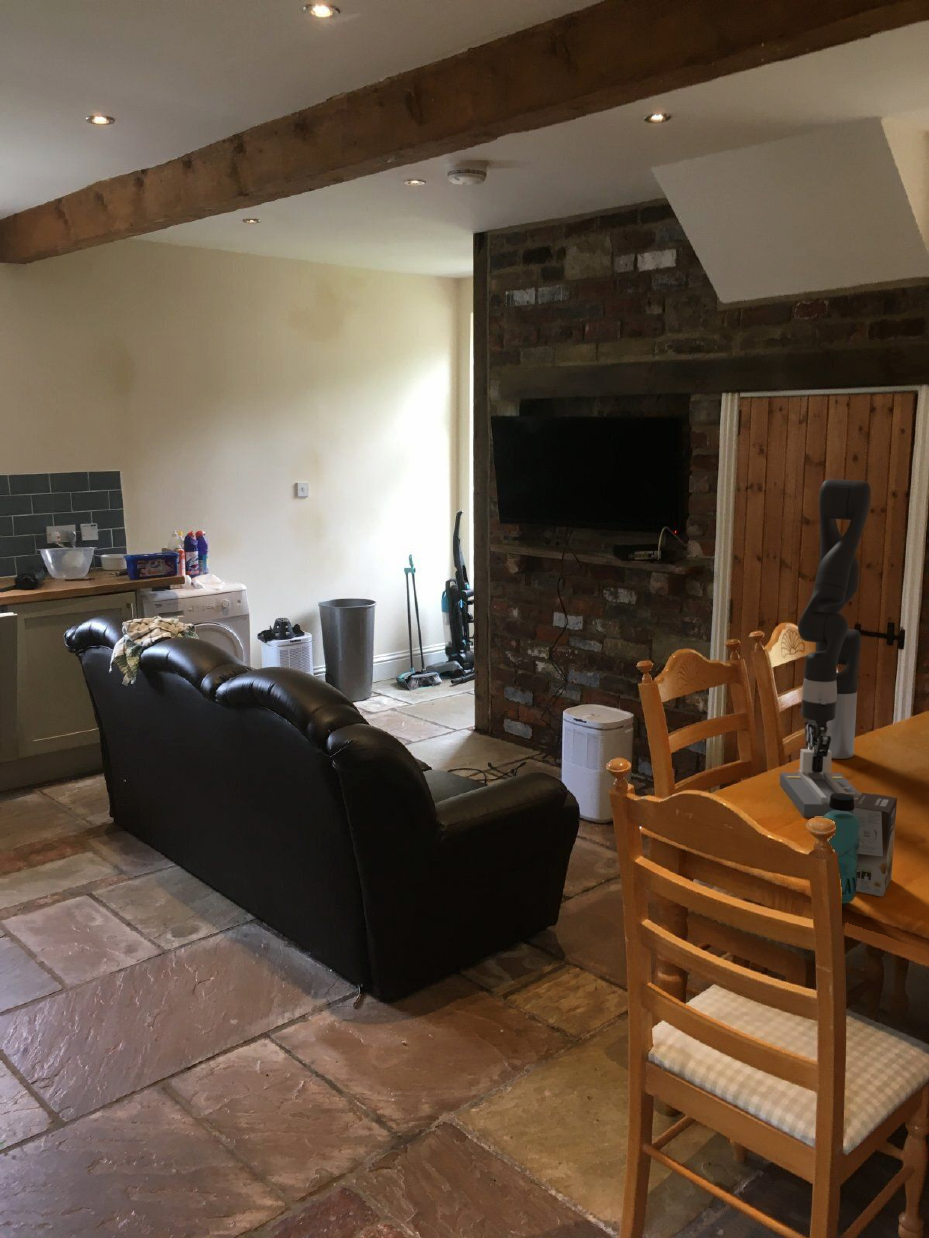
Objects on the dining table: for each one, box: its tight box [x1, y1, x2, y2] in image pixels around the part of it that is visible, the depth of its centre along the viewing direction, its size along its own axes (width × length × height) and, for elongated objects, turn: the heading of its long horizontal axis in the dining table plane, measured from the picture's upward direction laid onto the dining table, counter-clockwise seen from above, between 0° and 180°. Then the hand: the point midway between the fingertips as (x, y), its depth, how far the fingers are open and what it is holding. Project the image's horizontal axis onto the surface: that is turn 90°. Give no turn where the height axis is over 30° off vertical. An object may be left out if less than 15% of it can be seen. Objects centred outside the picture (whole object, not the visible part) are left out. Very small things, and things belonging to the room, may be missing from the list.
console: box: [779, 768, 862, 818], centre depth 226 cm, size 21×14×4 cm, turn 176°
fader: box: [799, 748, 832, 780], centre depth 233 cm, size 3×6×6 cm, turn 86°
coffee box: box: [853, 792, 898, 897], centre depth 182 cm, size 9×6×16 cm
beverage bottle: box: [821, 793, 860, 904], centre depth 175 cm, size 6×7×20 cm
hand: (815, 769), depth 233 cm, fingers closed on fader, 2 cm apart
